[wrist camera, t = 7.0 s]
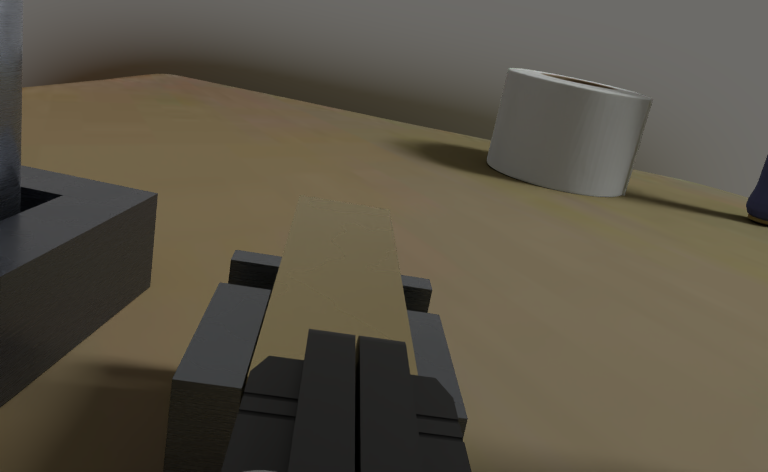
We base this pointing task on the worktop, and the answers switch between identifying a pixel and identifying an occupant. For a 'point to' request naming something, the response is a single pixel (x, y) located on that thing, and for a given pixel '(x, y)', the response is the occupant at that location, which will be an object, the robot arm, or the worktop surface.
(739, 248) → the worktop surface
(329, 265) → the tan flat block
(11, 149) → the metal spray bottle
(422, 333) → the guide
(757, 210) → the rubber mallet
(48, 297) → the socket block
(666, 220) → the worktop surface
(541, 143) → the white toilet paper roll
